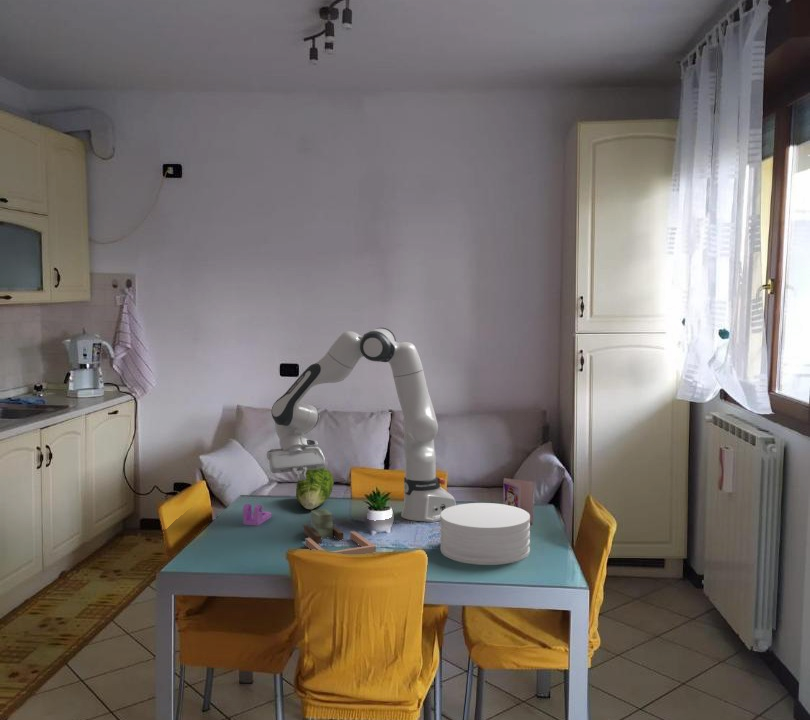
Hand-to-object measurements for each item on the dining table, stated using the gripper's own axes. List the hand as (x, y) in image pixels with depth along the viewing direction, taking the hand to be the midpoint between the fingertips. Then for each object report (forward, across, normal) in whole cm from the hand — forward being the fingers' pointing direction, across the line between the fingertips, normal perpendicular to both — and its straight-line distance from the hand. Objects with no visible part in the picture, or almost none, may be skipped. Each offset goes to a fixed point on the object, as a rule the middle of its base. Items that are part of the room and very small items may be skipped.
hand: (302, 479), depth 282 cm
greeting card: (+37, +67, -16) cm, 78 cm away
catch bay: (+36, 0, -15) cm, 39 cm away
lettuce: (-2, +10, +23) cm, 25 cm away
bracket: (+5, -14, +16) cm, 22 cm away
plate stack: (+51, +41, -30) cm, 72 cm away
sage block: (+25, 0, -4) cm, 25 cm away
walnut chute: (+26, 0, -5) cm, 26 cm away
